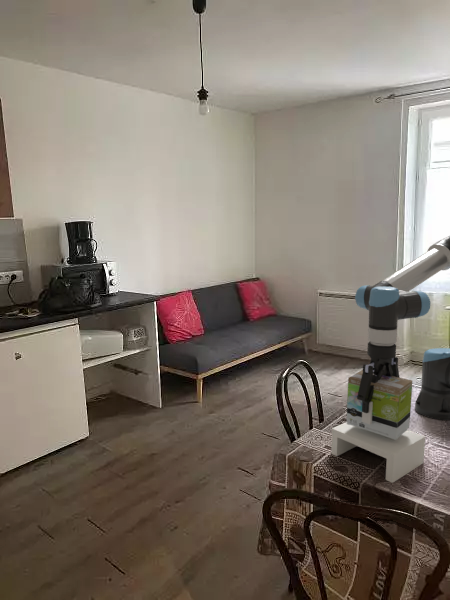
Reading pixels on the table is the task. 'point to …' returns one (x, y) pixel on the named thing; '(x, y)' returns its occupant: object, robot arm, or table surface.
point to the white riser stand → (382, 448)
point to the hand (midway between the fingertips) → (378, 417)
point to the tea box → (382, 405)
